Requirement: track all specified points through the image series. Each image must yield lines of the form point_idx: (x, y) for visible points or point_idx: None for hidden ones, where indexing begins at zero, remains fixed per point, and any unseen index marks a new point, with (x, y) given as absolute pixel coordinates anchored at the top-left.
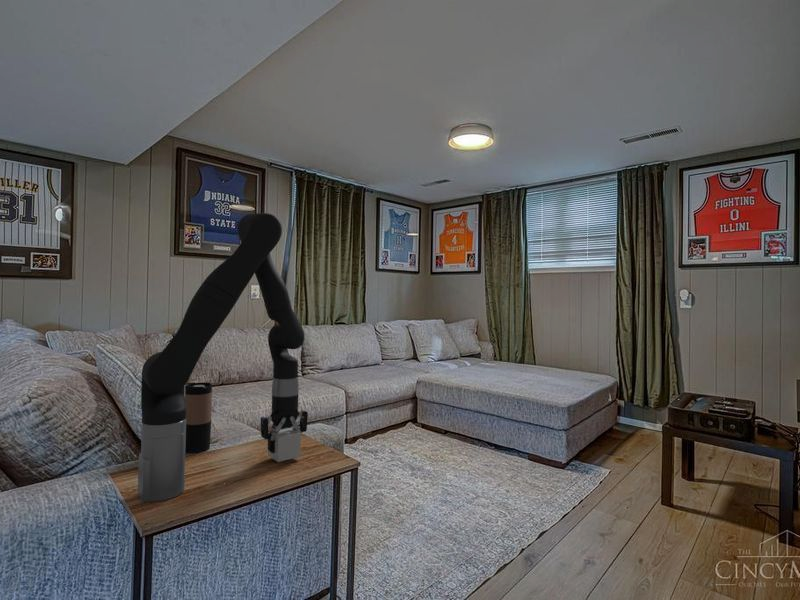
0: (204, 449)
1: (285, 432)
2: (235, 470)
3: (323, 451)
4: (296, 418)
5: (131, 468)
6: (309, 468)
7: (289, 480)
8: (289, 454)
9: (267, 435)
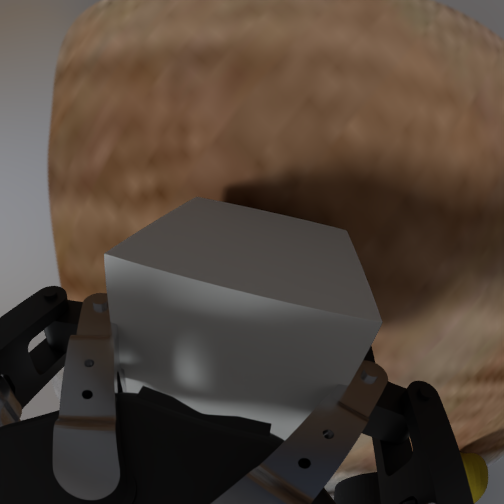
0: (369, 478)
1: (208, 384)
2: (471, 324)
3: (69, 209)
4: (37, 421)
5: (493, 452)
6: (245, 53)
7: (420, 24)
8: (266, 220)
9: (421, 406)
